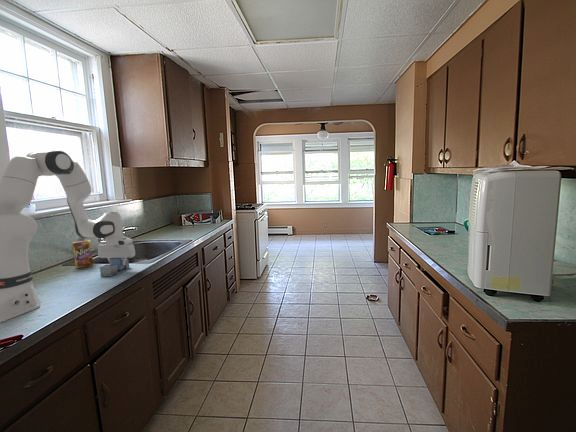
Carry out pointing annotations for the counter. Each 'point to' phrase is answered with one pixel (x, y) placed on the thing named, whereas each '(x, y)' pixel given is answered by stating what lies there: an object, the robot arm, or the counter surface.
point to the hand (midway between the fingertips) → (117, 265)
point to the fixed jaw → (126, 264)
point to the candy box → (83, 254)
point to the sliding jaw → (108, 270)
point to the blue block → (117, 263)
